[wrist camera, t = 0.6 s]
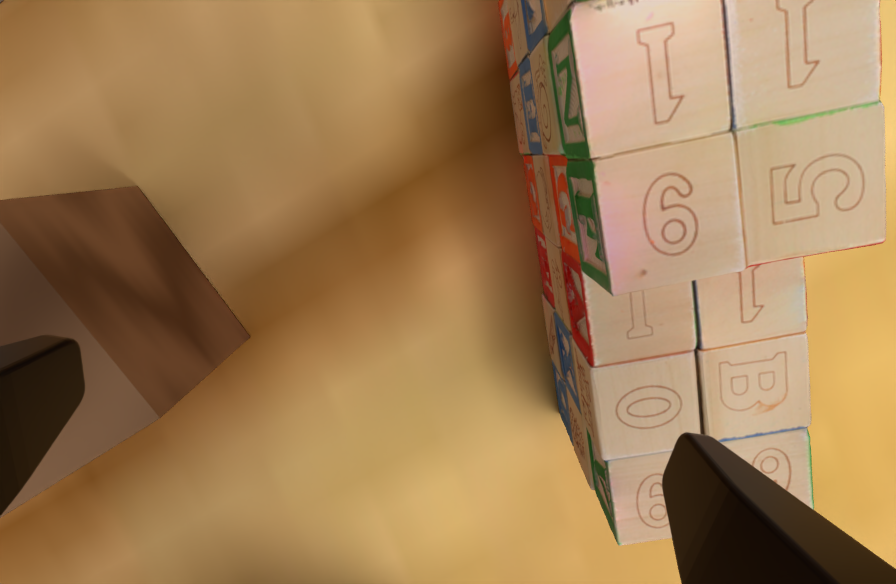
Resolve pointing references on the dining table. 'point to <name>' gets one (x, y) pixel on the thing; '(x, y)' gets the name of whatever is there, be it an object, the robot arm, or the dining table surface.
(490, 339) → the dining table surface
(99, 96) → the dining table surface
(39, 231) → the walnut block
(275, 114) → the dining table surface
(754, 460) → the stack of blocks
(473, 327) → the dining table surface
